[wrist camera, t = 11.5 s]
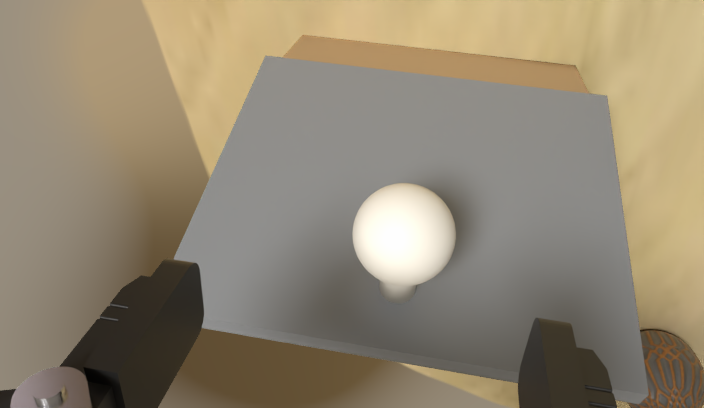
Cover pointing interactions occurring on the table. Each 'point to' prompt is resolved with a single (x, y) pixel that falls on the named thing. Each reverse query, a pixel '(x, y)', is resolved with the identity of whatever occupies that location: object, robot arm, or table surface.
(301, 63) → the lid
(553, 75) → the mailer box
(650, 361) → the vase
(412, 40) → the table surface
